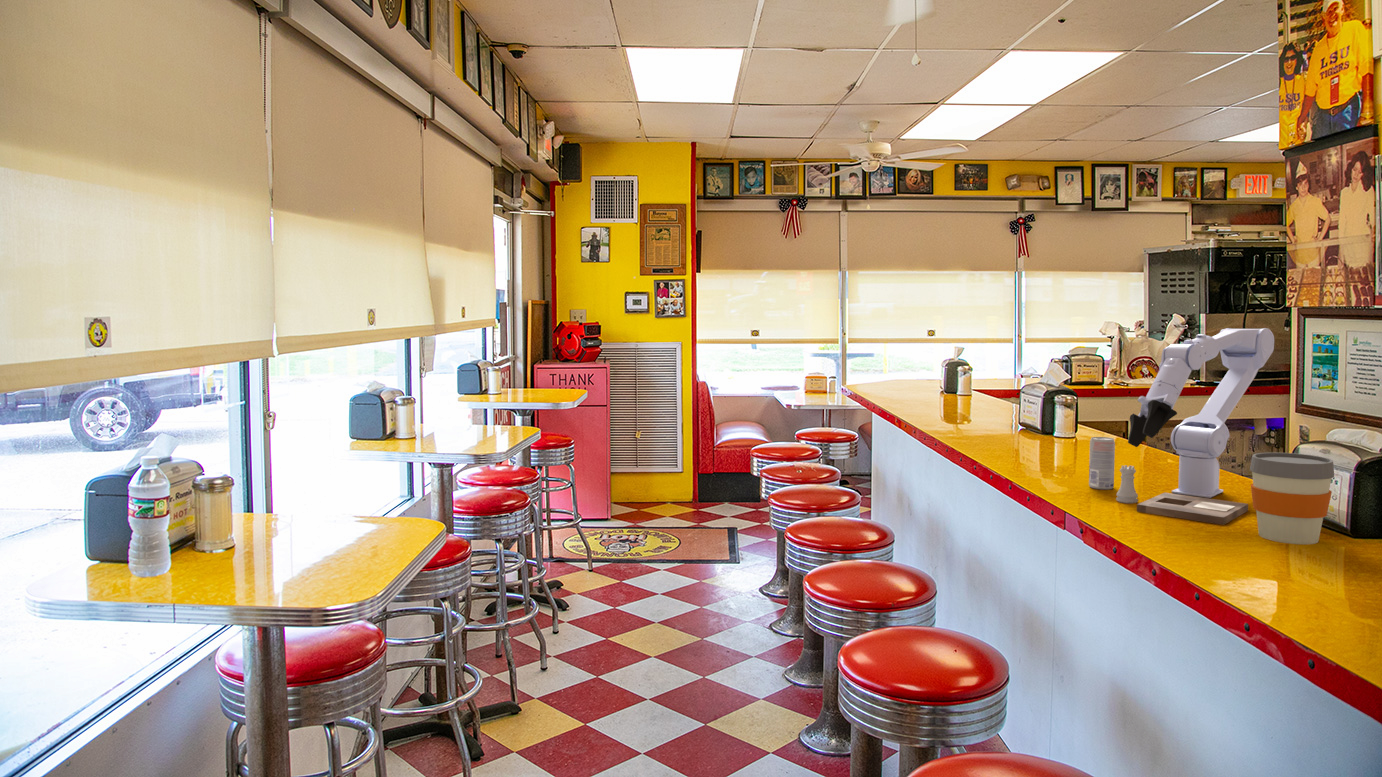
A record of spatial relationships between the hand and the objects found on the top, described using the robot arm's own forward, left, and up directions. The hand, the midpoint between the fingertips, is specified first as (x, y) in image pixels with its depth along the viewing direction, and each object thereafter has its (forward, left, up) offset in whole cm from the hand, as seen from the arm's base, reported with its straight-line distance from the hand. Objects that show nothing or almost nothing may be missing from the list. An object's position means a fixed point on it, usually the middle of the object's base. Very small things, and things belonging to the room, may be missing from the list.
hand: (1140, 440), depth 176 cm
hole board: (-2, +10, -14) cm, 18 cm away
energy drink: (-13, -13, -15) cm, 23 cm away
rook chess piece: (-2, -3, -15) cm, 15 cm away
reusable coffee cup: (+8, +29, -15) cm, 33 cm away
